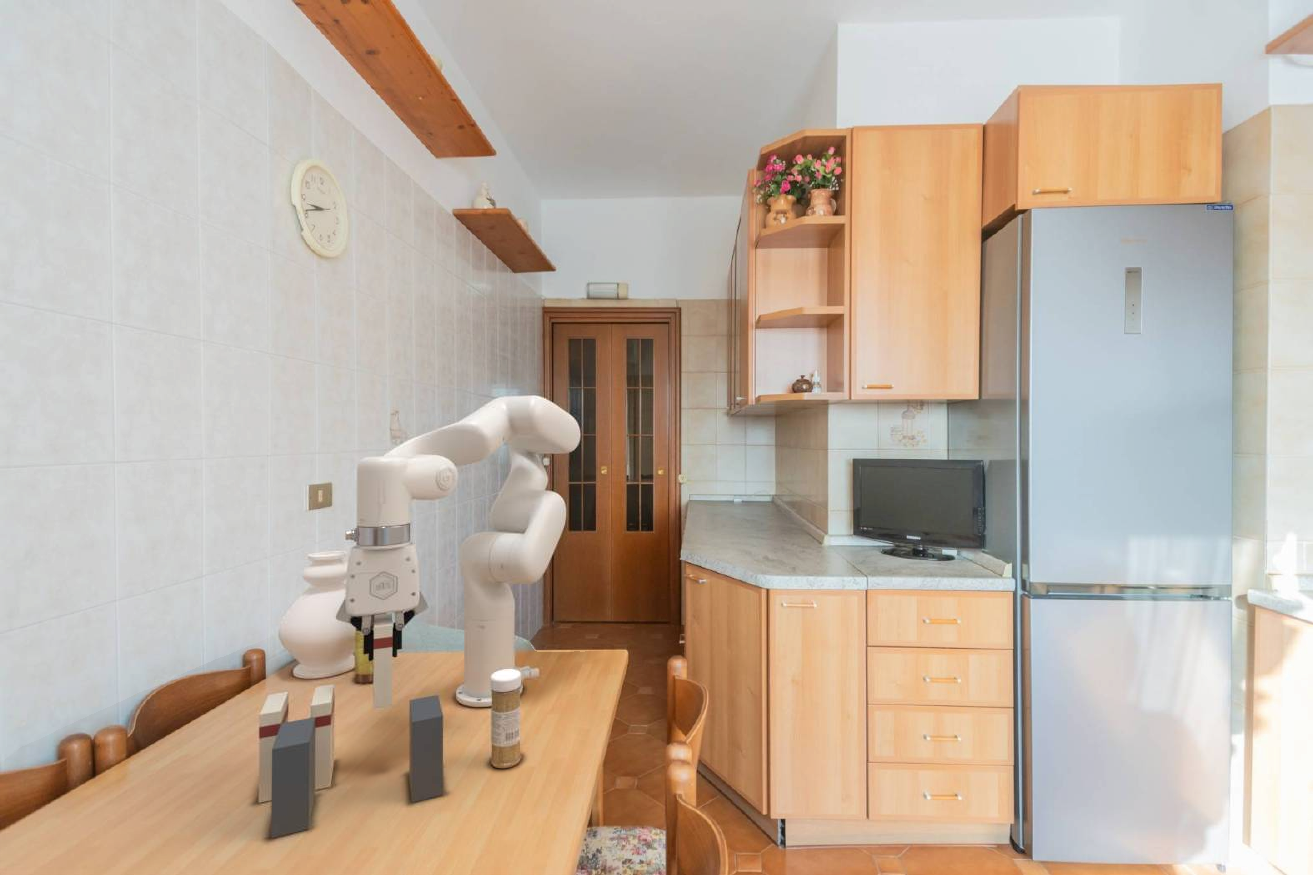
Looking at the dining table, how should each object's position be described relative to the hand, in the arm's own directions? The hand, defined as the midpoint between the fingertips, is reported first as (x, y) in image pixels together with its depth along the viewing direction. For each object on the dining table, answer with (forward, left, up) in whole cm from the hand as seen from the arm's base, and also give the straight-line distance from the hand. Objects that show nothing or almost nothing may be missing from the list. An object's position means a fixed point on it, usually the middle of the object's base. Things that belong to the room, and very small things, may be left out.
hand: (382, 655), depth 87 cm
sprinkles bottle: (-17, +8, -17) cm, 25 cm away
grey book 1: (+10, +9, -16) cm, 21 cm away
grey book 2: (-6, +9, -16) cm, 20 cm away
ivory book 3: (0, 0, -7) cm, 7 cm away
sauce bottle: (+2, -37, -17) cm, 41 cm away
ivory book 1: (+14, 0, -16) cm, 22 cm away
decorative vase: (+11, -48, -17) cm, 52 cm away
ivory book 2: (+8, 0, -16) cm, 18 cm away
